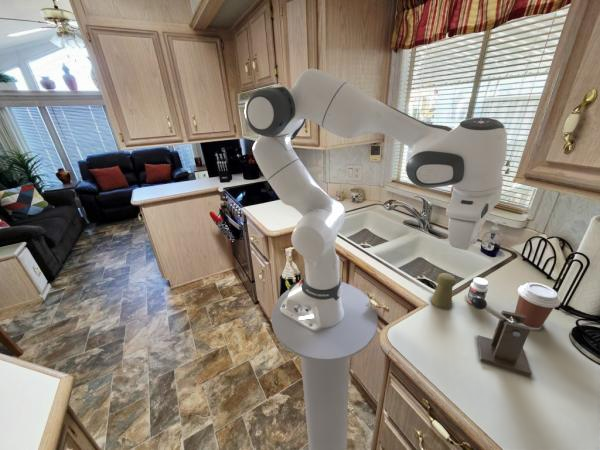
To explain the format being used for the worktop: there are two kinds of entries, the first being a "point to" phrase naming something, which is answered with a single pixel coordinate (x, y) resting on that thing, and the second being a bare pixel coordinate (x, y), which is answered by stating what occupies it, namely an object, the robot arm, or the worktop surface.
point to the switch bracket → (506, 346)
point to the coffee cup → (536, 303)
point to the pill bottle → (477, 289)
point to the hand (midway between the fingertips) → (472, 240)
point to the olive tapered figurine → (444, 291)
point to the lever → (492, 310)
